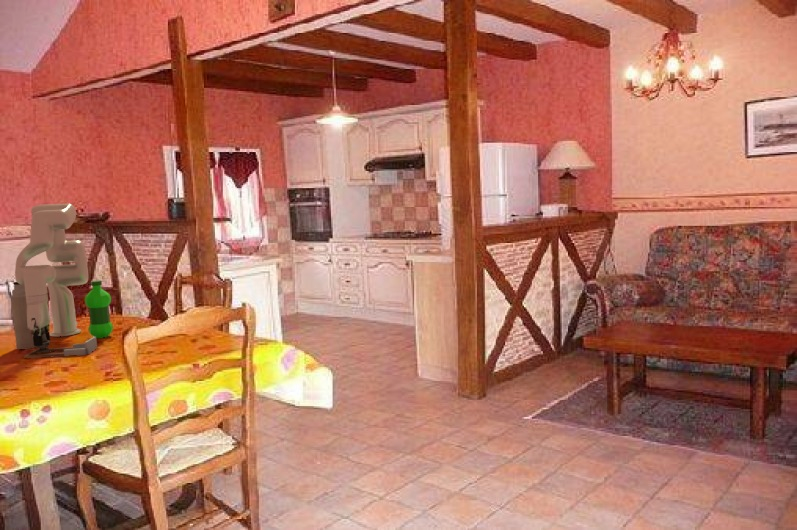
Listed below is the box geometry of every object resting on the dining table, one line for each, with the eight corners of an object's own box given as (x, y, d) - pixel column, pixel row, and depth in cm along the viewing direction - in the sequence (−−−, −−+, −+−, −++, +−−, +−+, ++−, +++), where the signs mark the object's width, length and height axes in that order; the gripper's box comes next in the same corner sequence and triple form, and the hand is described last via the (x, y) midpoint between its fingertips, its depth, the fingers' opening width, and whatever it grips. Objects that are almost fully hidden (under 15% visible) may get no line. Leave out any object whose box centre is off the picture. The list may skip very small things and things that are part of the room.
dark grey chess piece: (38, 349, 263) (35, 320, 262) (54, 348, 264) (50, 319, 262) (32, 353, 257) (28, 323, 256) (47, 352, 258) (44, 322, 256)
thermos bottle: (42, 345, 278) (35, 280, 275) (28, 349, 270) (21, 282, 267) (26, 345, 280) (19, 280, 276) (12, 349, 272) (4, 283, 269)
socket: (74, 350, 266) (73, 338, 266) (97, 348, 267) (96, 336, 266) (64, 356, 256) (63, 343, 256) (88, 354, 257) (86, 342, 257)
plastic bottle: (98, 334, 295) (92, 279, 292) (119, 334, 293) (113, 279, 290) (83, 339, 285) (77, 283, 282) (105, 339, 283) (99, 282, 280)
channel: (35, 352, 265) (35, 349, 265) (74, 350, 266) (74, 347, 266) (24, 358, 255) (23, 355, 255) (64, 356, 256) (64, 353, 256)
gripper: (36, 295, 266) (41, 339, 268) (16, 303, 249) (22, 349, 251) (56, 294, 267) (61, 338, 269) (37, 302, 250) (42, 348, 252)
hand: (42, 343), depth 260 cm, fingers closed on dark grey chess piece, 5 cm apart
